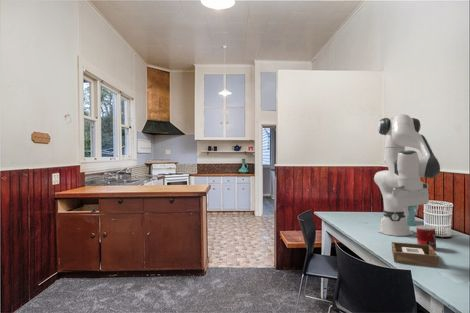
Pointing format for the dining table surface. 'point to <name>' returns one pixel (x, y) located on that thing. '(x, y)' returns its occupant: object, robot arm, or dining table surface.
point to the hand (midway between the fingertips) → (410, 215)
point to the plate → (412, 250)
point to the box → (414, 254)
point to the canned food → (426, 236)
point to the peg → (411, 216)
